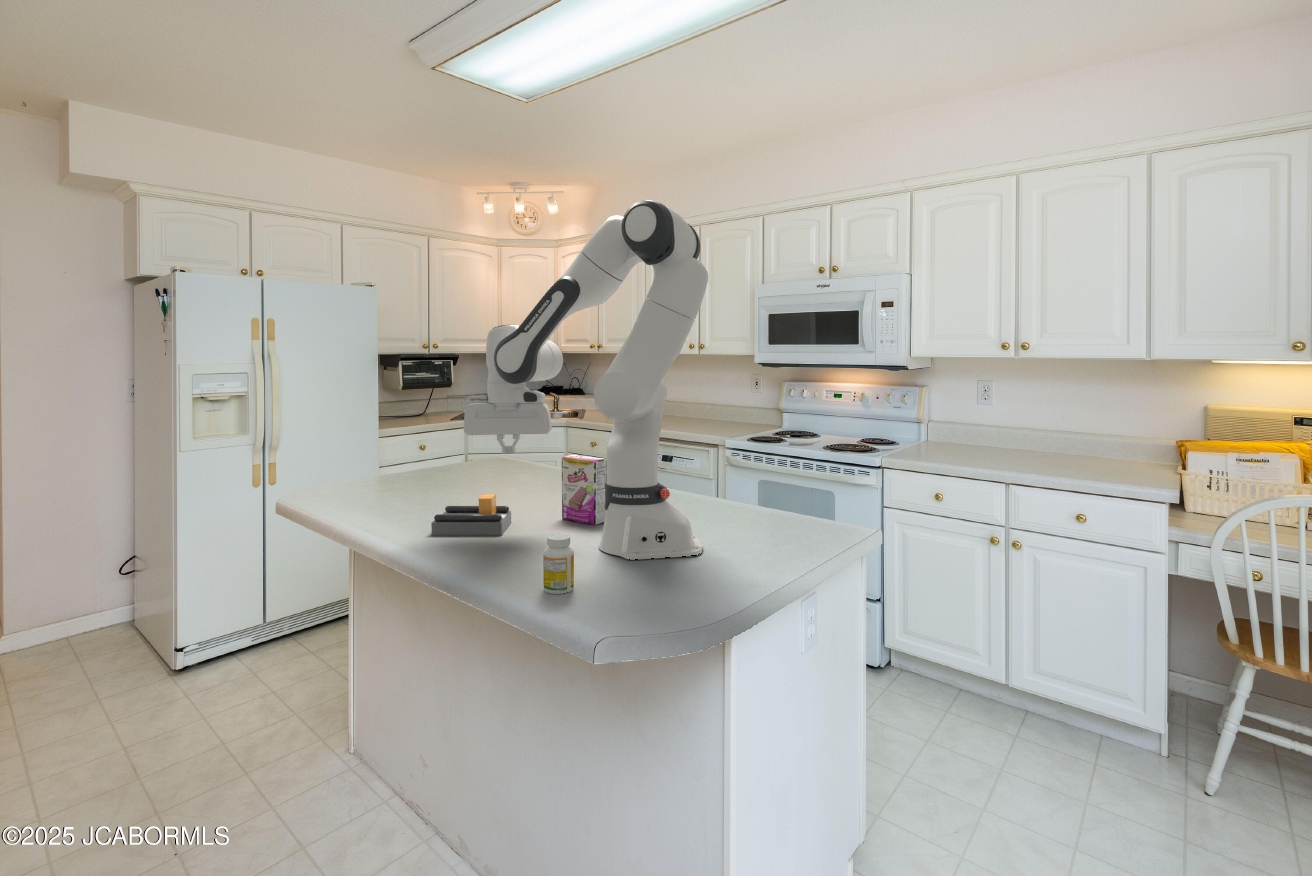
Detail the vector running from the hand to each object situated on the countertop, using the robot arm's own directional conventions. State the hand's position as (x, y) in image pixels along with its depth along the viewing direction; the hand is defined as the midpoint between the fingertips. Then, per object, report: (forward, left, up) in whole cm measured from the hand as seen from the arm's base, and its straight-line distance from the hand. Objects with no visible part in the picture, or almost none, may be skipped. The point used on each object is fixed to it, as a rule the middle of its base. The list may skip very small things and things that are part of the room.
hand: (509, 453), depth 152 cm
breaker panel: (+9, 0, -18) cm, 20 cm away
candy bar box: (-17, -8, -19) cm, 27 cm away
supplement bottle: (-16, +42, -19) cm, 48 cm away
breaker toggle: (+5, 0, -15) cm, 16 cm away
